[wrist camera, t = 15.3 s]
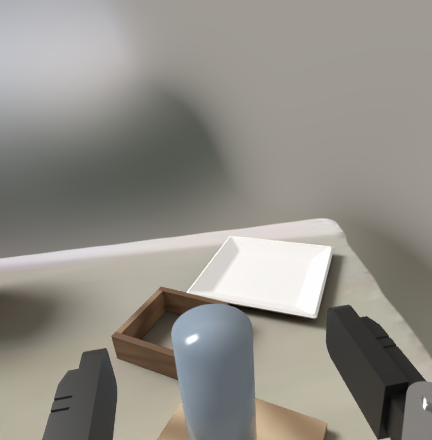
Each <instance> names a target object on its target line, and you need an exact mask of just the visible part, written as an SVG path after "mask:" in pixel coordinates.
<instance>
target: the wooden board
mask: <svg viewBox="0 0 432 440" xmlns="http://www.w3.org/2000/svg"><path fill="white" fill-rule="evenodd" d="M255 405H256V428H257V440H324V439H325V435H326V431H327V423H326V422H323V421H320V420H318V419H315V418H312V417H309V416H306V415H303V414H300V413H297V412H294V411H292V410H289V409H286V408H283V407H280V406H277V405H274V404H271V403H268V402H265V401H263V400H260V399H257V398H255ZM157 440H188V437H187V431H186V425H185V418H184V412H183V406H182V402H181V403H180V405H179V406H178V408H177V410H176V411H175V413H174V414H173V416H172V417H171V419H170V420H169V422H168V423H167V425H166V427H165V428H164V430H163V431H162V433H161V434H160V436H159V437H158V439H157Z"/></svg>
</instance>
